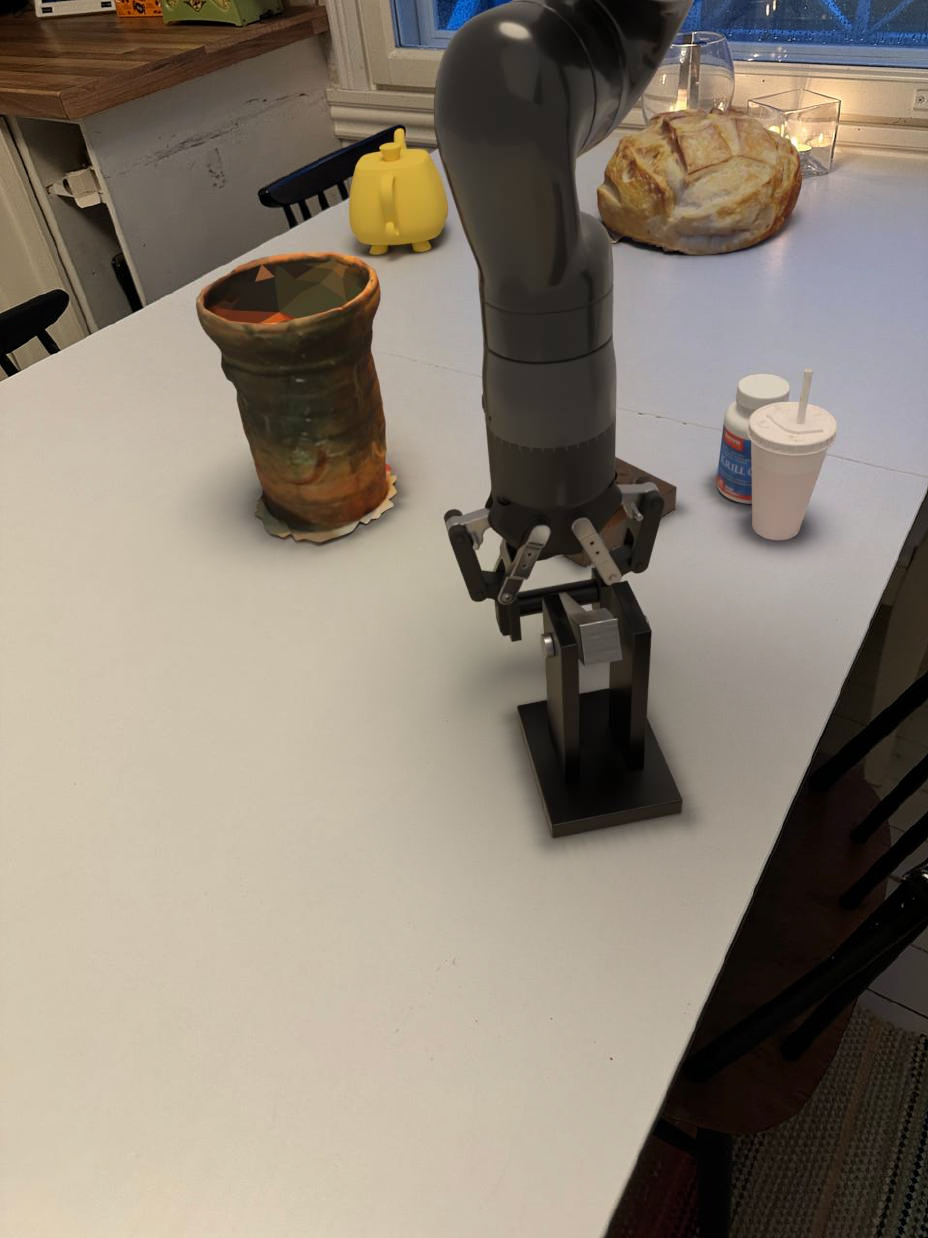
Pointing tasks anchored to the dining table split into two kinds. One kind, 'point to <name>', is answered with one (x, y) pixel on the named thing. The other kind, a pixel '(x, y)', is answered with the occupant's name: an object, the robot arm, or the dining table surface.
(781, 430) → the smoothie
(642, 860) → the dining table surface
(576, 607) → the switch
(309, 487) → the vessel
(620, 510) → the button block
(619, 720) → the switch bracket
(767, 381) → the pill bottle
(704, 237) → the bread
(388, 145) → the teapot
